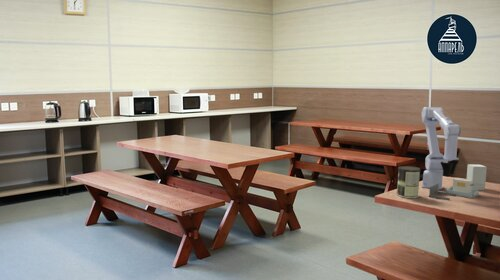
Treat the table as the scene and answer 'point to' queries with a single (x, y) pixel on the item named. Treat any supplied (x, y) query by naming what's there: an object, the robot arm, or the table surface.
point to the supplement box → (477, 176)
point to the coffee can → (408, 181)
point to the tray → (463, 193)
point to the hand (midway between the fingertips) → (448, 175)
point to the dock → (435, 190)
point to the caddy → (462, 185)
